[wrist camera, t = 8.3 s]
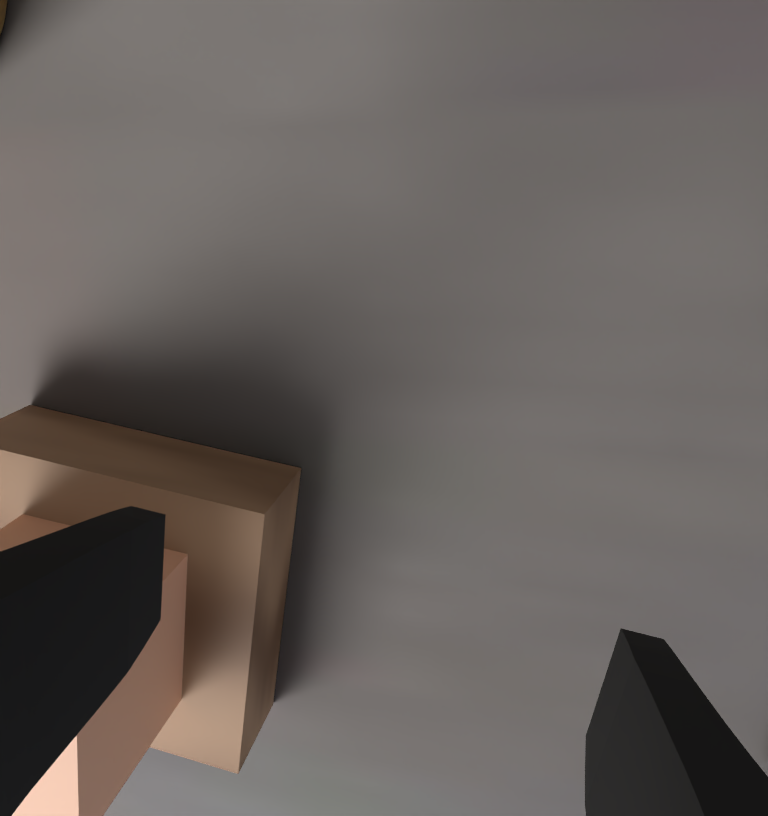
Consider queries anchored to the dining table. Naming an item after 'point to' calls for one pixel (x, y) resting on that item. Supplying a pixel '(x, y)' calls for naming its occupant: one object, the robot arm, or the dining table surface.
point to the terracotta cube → (114, 702)
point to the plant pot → (2, 13)
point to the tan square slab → (184, 532)
